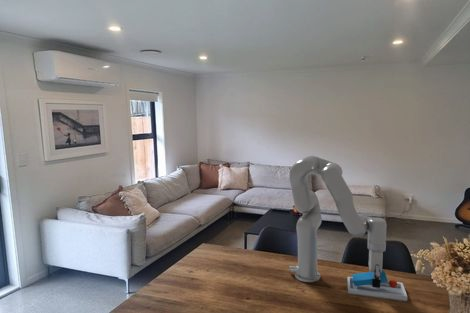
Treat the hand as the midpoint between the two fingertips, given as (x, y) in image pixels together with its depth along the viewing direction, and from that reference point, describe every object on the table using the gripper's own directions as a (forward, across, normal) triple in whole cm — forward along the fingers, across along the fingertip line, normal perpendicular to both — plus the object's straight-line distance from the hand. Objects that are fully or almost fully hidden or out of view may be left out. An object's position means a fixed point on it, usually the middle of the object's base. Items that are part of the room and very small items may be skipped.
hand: (375, 282), depth 151 cm
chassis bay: (+4, 0, 0) cm, 4 cm away
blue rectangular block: (+1, 0, 0) cm, 1 cm away
